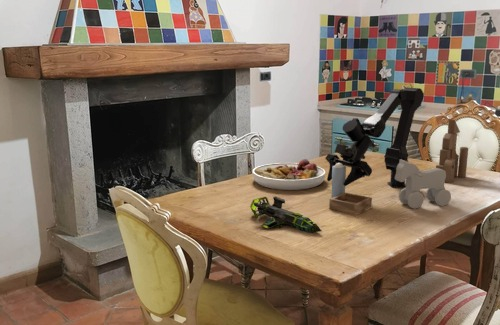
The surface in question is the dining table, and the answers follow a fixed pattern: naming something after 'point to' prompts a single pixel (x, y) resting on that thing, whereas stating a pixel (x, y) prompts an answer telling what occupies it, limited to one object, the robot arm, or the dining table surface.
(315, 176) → the bowl
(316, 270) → the dining table surface
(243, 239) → the dining table surface
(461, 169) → the wooden toy
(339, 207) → the square wooden tray
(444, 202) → the pony
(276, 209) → the aircraft
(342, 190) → the blue bottle
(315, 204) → the dining table surface
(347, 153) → the robot arm
